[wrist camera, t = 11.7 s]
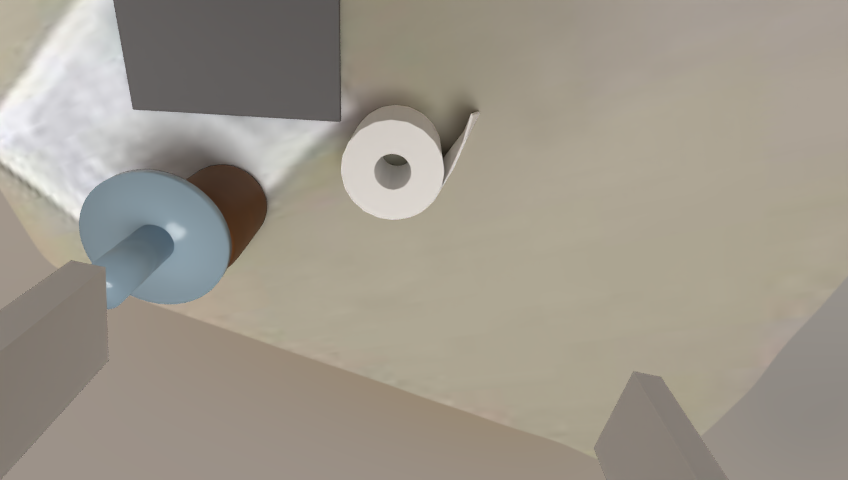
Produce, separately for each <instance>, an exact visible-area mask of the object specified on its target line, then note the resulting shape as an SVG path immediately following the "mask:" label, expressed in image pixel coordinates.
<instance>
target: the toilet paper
mask: <svg viewBox="0 0 848 480" xmlns="http://www.w3.org/2000/svg"><path fill="white" fill-rule="evenodd" d="M479 114H480V112H479V111H477V112H474V113H471V115H470V117H469V120H468V122H467V125H466V127H465V130H464V131H463V132H462V134H461V135H460V136H459V138H458V139H457V140H456V142H455V143H454V144H453V146H452V147H451V148H450V150H449V151H448V152H447V154H446V155H445V156H444V158H442V150H441V144H440V137H439V135H438V133H437V131H436V129H435V127H434V125H433V123H432V122H431V121H430V120H429V119H428V118H427V117H426V116H425V115H424V114H423V113H421V112H419V111H417V110H415V109H413V108H411V107H407V106H401V105H390V106H384V107H380V108H379V109H377V110H375V111H373V112H371V113H369V114H368V115H367V116H366V117H365V118H364V119H363V120H362V122H361V123H360V124H359V125H358V127H357V129H356V130H355V132H354V134H353V136H352V137H351V139H350V141H349V143H348V145H347V147H346V149H345V152H344V154H343V156H342V165H341V175H342V179H343V183H344V187H345V189H346V191H347V192H348V194H349V196H350V197H351V199H352V201H353V202H355V203H356V204H357V205H358V206H359V207H360V208H361V209H362V210H364V211H365V212H367V213H369V214H372V215H374V216H376V217H378V218H384V219H391V220H397V219H404V218H410V217H412V216H414V215H416V214H418V213H420V212H422V211H424V210H425V209H426V208H427V207H428V206H429V205H430V204H431V203H432V202H433V201H434V200H435V199H436V197H437V195H438V194H439V192H440V190H441V189H442V187H443V185H444V184H445V182H446V180H447V179H448V177H449V175H450V174H451V172H452V170H453V169H454V167H455V164H456V162H457V160H458V158H459V155H460V153H461V151H462V149H463V146H464V144H465V142H466V140H467V138H468V136H469V134H470V132H471V130H472V128H473V126H474V124H475V122H476V120H477V118H478V116H479ZM387 154H398V155H400V156H402V157H404V158H405V159H406V160H407V161H408V162H407V163H405V164H404V165H400V166H394V165H391V164H389V163H387V162H386V161H385V160H384V158H383V157H382V156H384V155H387Z"/></svg>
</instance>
